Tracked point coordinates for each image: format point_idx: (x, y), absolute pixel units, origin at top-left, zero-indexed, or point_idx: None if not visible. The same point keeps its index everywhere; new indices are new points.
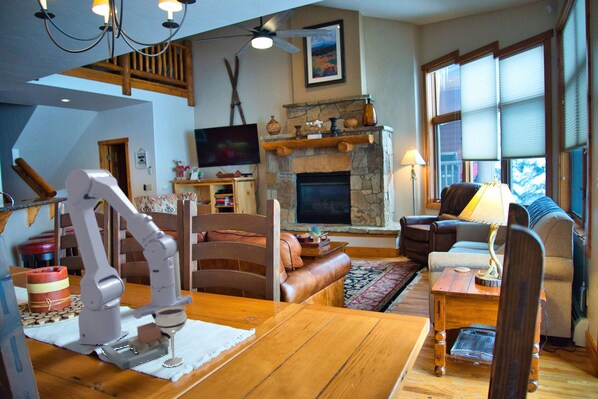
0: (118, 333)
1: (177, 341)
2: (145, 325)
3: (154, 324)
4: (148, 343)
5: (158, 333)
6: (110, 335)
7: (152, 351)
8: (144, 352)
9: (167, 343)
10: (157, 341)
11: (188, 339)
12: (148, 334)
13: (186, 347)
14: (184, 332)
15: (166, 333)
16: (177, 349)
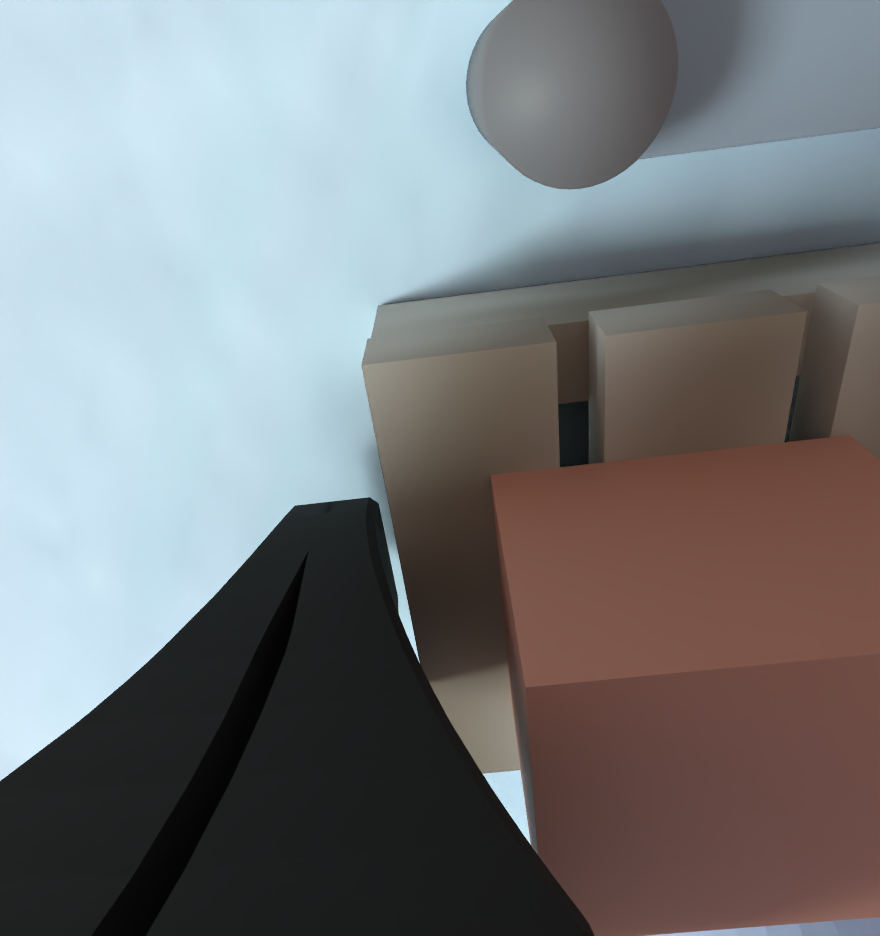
0: (765, 927)
1: (191, 447)
2: (774, 885)
3: (595, 836)
4: (782, 408)
5: (563, 536)
6: (877, 923)
7: (869, 42)
8: (870, 267)
9: (510, 5)
10: (630, 347)
11: (3, 404)
12: (853, 547)
13: (75, 60)
14: (44, 655)
15: (347, 553)
16: (266, 102)
